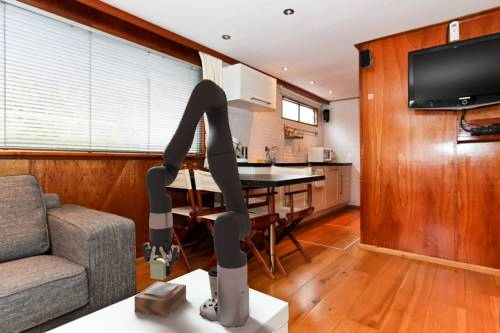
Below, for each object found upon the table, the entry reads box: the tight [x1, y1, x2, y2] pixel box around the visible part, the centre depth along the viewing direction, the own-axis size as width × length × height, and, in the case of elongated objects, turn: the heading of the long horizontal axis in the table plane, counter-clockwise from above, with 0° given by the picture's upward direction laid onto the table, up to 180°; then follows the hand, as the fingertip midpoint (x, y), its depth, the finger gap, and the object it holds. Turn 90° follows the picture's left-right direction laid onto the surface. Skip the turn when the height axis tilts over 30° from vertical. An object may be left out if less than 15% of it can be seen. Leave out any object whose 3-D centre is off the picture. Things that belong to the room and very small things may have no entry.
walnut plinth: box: [134, 280, 187, 318], centre depth 93 cm, size 12×12×6 cm
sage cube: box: [149, 257, 168, 281], centre depth 93 cm, size 5×5×5 cm
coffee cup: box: [207, 265, 217, 299], centre depth 99 cm, size 7×7×10 cm
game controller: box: [199, 298, 218, 321], centre depth 89 cm, size 10×5×6 cm
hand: (161, 274), depth 93 cm, fingers closed on sage cube, 5 cm apart
